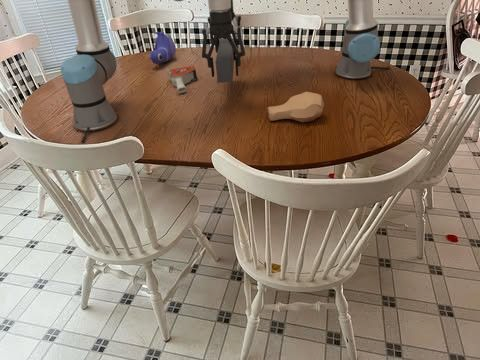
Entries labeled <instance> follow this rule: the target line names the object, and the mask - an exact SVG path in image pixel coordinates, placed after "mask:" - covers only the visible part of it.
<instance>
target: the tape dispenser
mask: <svg viewBox="0 0 480 360" xmlns="http://www.w3.org/2000/svg"><path fill="white" fill-rule="evenodd" d="M181 70H183V71H181ZM166 72H167V77H168V79H169V81H170V82H171V84H172V85H173V87H176V92H177V93H178V94H183V93H186V92H187V87H186V85H187V84H188V83H191V81H196V80H197V77H198V76H197V70H196V67H195V65H188V66H183V67H176V68H168V69H166Z"/></svg>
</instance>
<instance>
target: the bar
mask: <svg viewBox="0 0 480 360" xmlns="http://www.w3.org/2000/svg"><path fill="white" fill-rule="evenodd" d="M232 39H233V37H232ZM218 44H219V47H218V52H217V53H216V55H215V56H216V57H215V72H216V80H217V83H218V84H220V83H222V84H223V83H233V81H234V80H233V79H234V66H235V60H234V52H233V48H232V46H231V44H230V43H229V41H228V39H219V41H218Z"/></svg>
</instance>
